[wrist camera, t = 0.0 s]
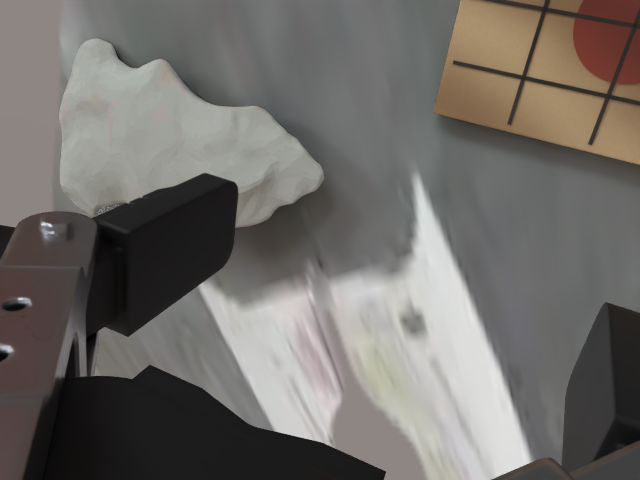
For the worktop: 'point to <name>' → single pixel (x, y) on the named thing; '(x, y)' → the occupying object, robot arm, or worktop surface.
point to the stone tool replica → (169, 139)
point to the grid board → (548, 72)
